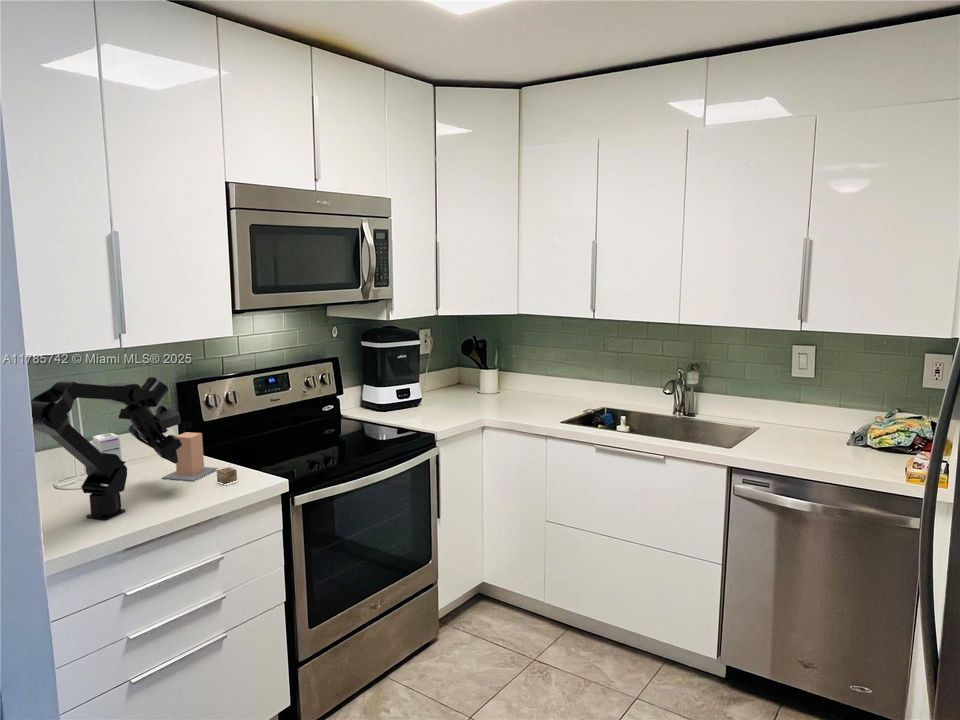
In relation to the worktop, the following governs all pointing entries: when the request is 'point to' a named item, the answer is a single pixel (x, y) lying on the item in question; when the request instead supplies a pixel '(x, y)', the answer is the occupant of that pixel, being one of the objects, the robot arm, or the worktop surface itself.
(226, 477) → the letter cube
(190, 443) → the salmon pink pillar
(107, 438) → the syrup box
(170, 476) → the rubber mat
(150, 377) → the robot arm
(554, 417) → the worktop surface
